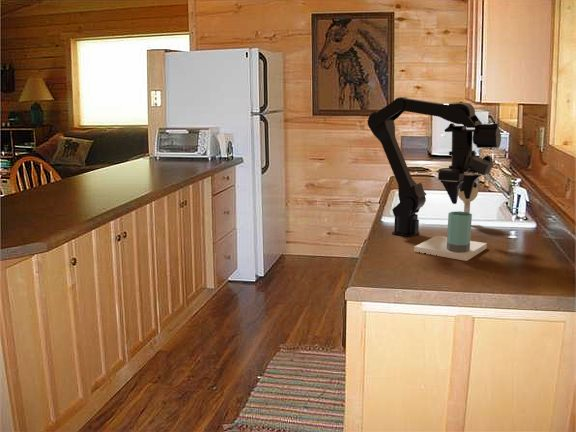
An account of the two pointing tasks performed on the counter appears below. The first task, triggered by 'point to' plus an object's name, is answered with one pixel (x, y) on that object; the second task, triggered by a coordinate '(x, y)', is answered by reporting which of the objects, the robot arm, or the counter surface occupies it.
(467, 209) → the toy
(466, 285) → the counter surface
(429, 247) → the pin board
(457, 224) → the teal faceted cylinder
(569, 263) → the counter surface
